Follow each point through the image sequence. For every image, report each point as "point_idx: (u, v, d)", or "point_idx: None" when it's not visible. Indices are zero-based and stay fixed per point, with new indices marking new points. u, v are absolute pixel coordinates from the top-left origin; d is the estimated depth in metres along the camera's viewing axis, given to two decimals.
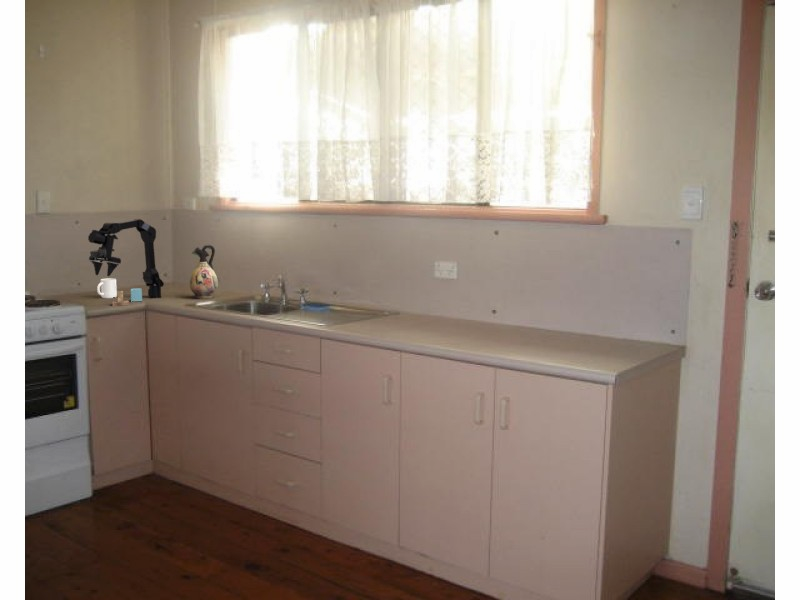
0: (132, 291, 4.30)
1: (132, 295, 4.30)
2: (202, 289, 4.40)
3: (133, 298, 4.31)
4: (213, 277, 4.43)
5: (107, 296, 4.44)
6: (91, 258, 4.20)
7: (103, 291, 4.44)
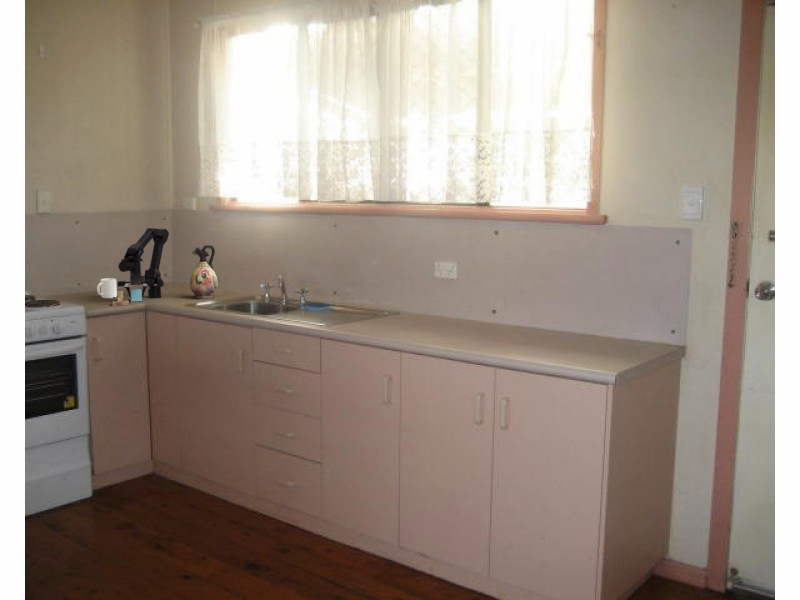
0: (132, 291, 4.30)
1: (132, 295, 4.30)
2: (202, 289, 4.40)
3: (133, 298, 4.31)
4: (213, 277, 4.43)
5: (107, 296, 4.44)
6: (122, 284, 4.28)
7: (103, 291, 4.44)
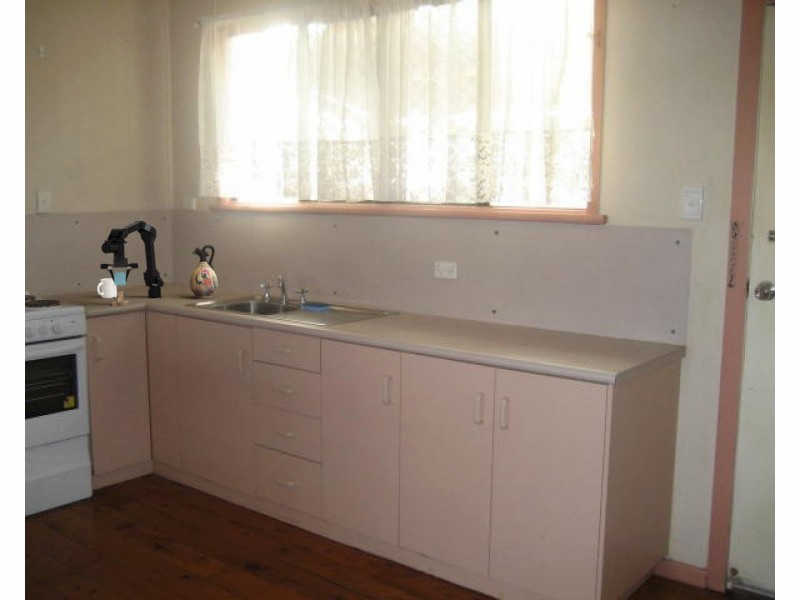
0: (115, 274, 4.16)
1: (115, 278, 4.16)
2: (202, 289, 4.40)
3: (116, 281, 4.17)
4: (213, 277, 4.43)
5: (107, 296, 4.44)
6: (105, 267, 4.14)
7: (103, 291, 4.44)
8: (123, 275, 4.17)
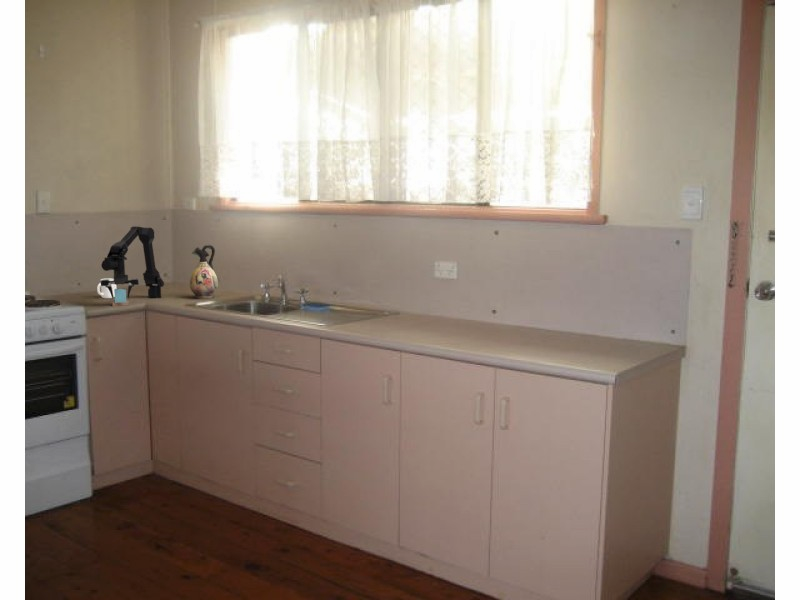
0: (116, 291, 4.17)
1: (116, 295, 4.17)
2: (202, 289, 4.40)
3: (117, 298, 4.18)
4: (213, 277, 4.43)
5: (107, 296, 4.44)
6: (105, 284, 4.15)
7: (103, 291, 4.44)
8: (123, 292, 4.18)
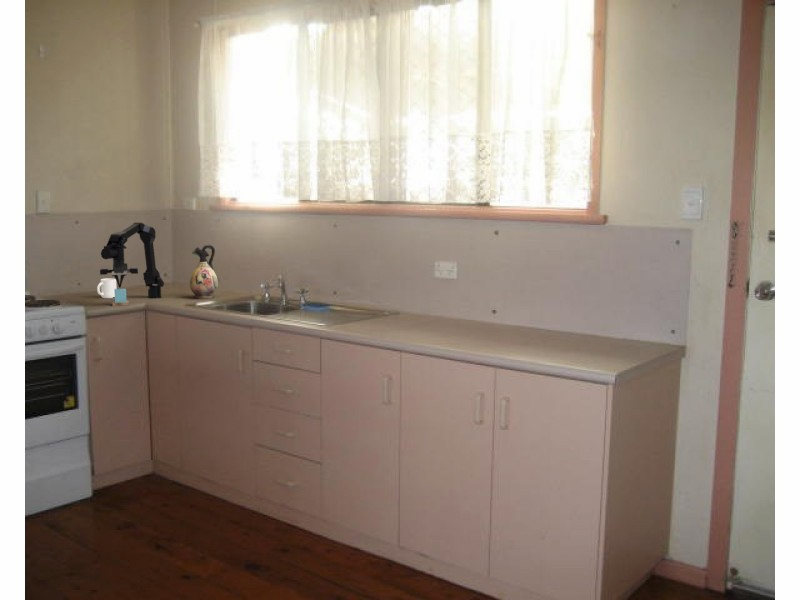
0: (116, 291, 4.17)
1: (116, 295, 4.17)
2: (202, 289, 4.40)
3: (117, 298, 4.18)
4: (213, 277, 4.43)
5: (107, 296, 4.44)
6: (105, 272, 4.14)
7: (103, 291, 4.44)
8: (123, 292, 4.18)
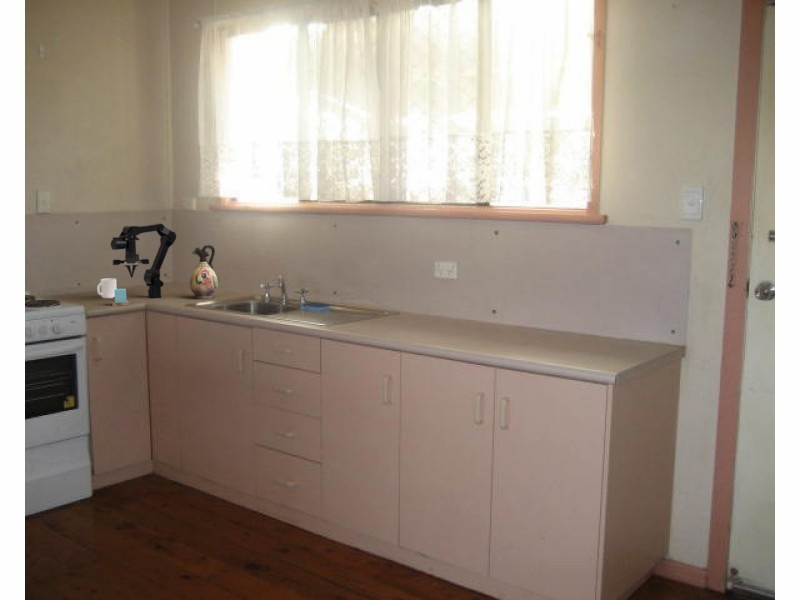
0: (116, 291, 4.17)
1: (116, 295, 4.17)
2: (202, 289, 4.40)
3: (117, 298, 4.18)
4: (213, 277, 4.43)
5: (107, 296, 4.44)
6: (117, 263, 4.30)
7: (103, 291, 4.44)
8: (123, 292, 4.18)
